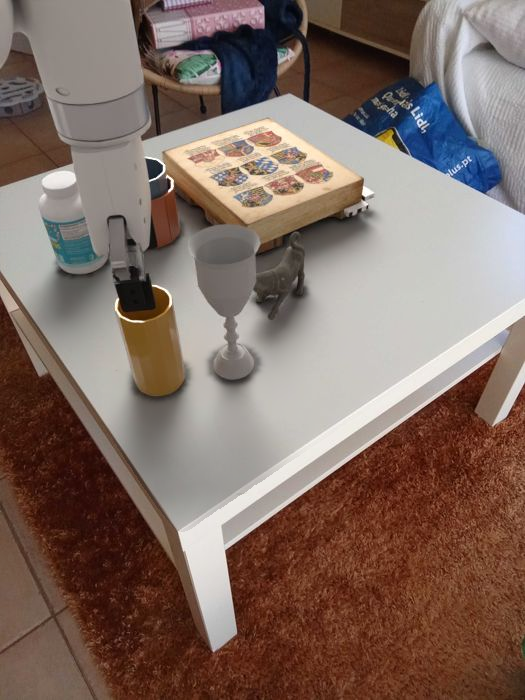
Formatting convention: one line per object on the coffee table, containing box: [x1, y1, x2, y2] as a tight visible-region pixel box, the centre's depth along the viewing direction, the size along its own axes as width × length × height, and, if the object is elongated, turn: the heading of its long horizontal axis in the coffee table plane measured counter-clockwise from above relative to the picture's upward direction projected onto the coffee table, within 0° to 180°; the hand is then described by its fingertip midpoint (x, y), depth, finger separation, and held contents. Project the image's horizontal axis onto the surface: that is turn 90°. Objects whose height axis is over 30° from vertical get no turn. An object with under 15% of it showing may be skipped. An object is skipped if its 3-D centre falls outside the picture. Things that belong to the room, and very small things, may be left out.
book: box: [161, 117, 375, 255], centre depth 93 cm, size 25×6×28 cm
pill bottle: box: [38, 170, 109, 275], centre depth 79 cm, size 8×7×14 cm
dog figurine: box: [253, 231, 306, 322], centre depth 75 cm, size 12×6×7 cm, turn 150°
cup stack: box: [145, 156, 181, 250], centre depth 86 cm, size 9×9×11 cm
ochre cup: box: [114, 284, 186, 397], centre depth 64 cm, size 6×6×12 cm
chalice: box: [187, 224, 260, 381], centre depth 63 cm, size 7×7×18 cm
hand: (141, 276), depth 57 cm, fingers open, 9 cm apart
